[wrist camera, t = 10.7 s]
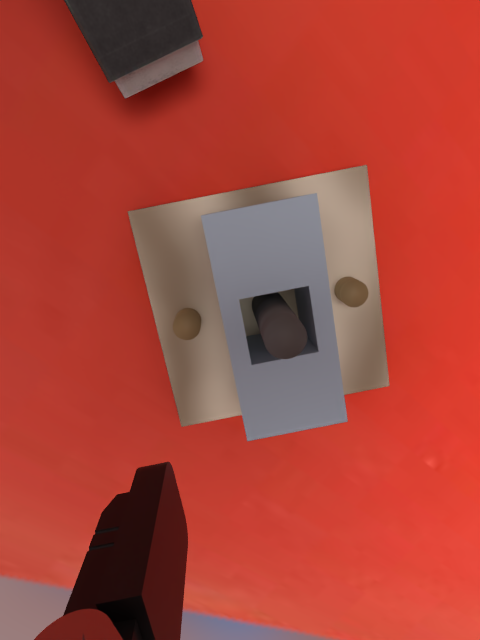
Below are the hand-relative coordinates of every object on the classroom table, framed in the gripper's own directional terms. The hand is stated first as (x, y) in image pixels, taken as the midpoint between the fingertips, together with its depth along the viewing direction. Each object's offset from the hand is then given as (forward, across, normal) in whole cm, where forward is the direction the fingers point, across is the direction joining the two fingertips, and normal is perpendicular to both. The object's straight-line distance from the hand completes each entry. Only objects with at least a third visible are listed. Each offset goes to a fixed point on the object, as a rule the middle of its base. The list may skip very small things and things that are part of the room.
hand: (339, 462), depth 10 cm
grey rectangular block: (+16, 0, 0) cm, 16 cm away
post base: (+18, 0, 0) cm, 18 cm away
